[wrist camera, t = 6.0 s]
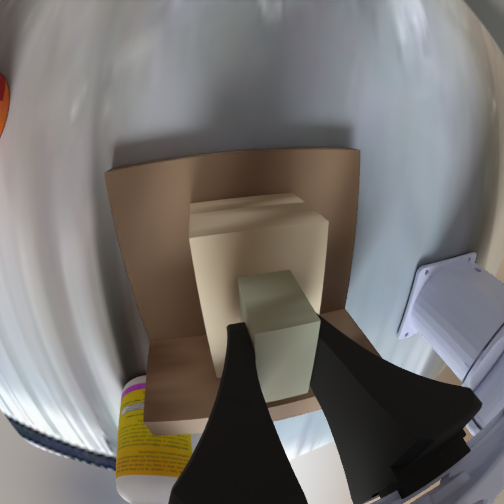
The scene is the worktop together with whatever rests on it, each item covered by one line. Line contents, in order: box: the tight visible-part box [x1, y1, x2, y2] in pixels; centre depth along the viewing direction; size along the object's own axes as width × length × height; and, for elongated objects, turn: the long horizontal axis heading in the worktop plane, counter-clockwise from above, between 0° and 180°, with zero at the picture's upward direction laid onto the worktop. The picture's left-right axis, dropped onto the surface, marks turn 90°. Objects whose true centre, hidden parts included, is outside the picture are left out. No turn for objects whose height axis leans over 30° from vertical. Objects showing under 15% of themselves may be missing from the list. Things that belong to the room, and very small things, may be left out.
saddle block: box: [189, 193, 329, 403], centre depth 12 cm, size 5×8×7 cm, turn 2°
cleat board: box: [105, 147, 382, 436], centre depth 13 cm, size 13×12×7 cm
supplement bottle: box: [116, 375, 202, 504], centre depth 14 cm, size 7×7×13 cm
